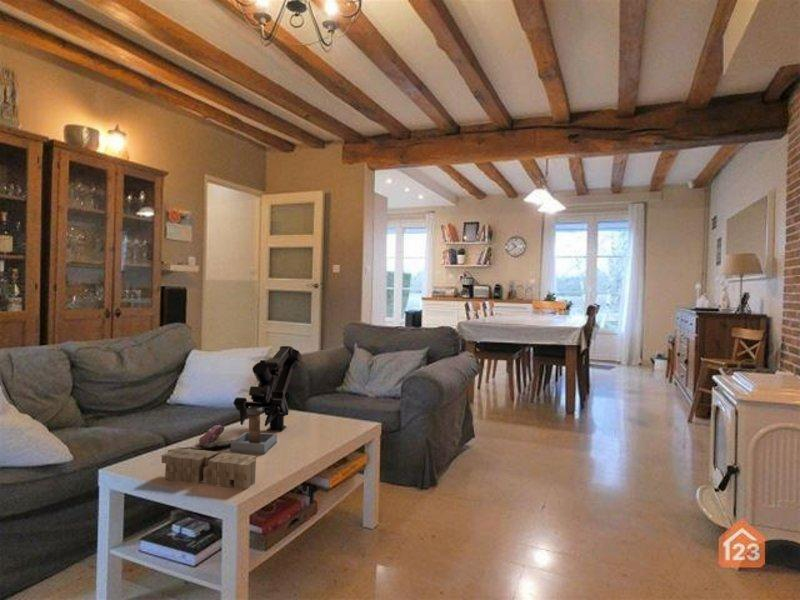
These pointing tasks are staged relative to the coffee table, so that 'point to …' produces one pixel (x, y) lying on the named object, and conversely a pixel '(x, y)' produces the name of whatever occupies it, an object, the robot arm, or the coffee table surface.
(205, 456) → the block tower
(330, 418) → the coffee table surface
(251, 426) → the pin
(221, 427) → the pink toy car
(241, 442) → the tray
